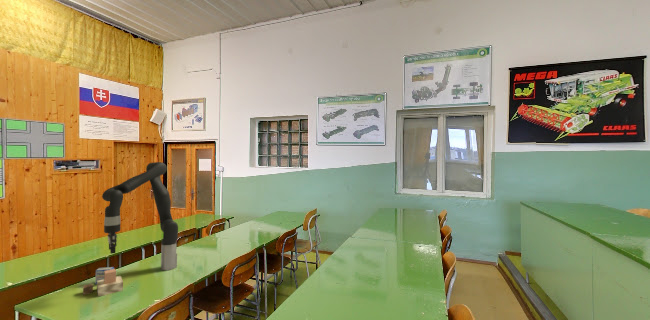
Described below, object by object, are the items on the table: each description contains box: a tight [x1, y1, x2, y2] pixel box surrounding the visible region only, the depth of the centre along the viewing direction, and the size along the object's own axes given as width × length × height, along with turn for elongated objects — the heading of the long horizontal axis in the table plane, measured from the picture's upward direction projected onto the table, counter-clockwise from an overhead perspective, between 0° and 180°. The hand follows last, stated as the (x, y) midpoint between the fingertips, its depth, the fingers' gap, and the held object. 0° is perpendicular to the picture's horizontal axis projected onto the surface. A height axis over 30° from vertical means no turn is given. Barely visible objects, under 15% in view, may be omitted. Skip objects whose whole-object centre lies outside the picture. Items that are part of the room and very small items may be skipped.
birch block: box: [96, 275, 124, 298], centre depth 157 cm, size 11×11×5 cm
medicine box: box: [94, 266, 115, 285], centre depth 166 cm, size 8×4×9 cm, turn 105°
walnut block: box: [82, 283, 94, 296], centre depth 153 cm, size 4×4×4 cm
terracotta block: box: [104, 268, 117, 284], centre depth 157 cm, size 5×5×6 cm
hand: (112, 251), depth 158 cm, fingers open, 8 cm apart
